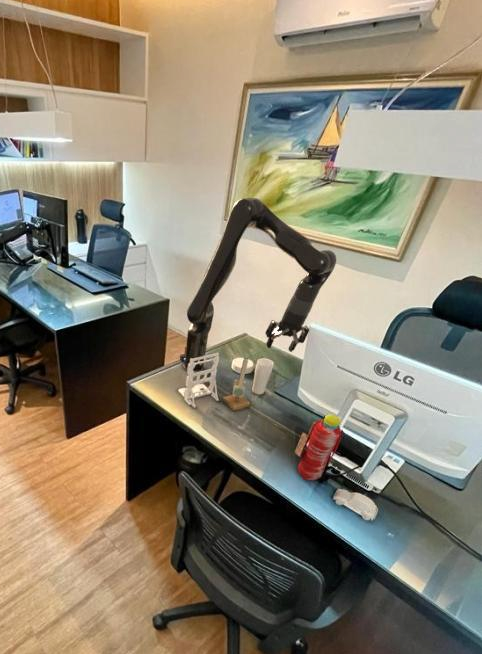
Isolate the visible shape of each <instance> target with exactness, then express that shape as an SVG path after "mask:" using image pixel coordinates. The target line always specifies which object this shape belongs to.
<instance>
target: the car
mask: <svg viewBox="0 0 482 654" xmlns="http://www.w3.org/2000/svg"><path fill="white" fill-rule="evenodd" d="M332 500H335V504H336V505H338V506H345V507H346V508H348V509H350V510H351V511H353V512H355V513H356V514H358V515H360V516H361V517H362V519H363V520H364V521H373V520H375V519H376V516H377V514H378V512H379V508H378V507H377V505H376V504H375V502H374V501H373V500H372V499H371V498H370V497H368V496H366V495H364V494H362V493H360V492H350V491H348V490H346V489H343V488H338V489H337V490H336V492H335V494H334V495H333V499H332Z"/></svg>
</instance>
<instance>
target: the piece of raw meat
mask: <svg viewBox="0 0 482 654" xmlns="http://www.w3.org/2000/svg"><path fill="white" fill-rule="evenodd" d="M339 417H340V416H337V415H336V416H335V415H332V414H328V415H326V416H325V418H324V417H323V419H320V420H316V421H313V423H312V424H311V427H310V429H309V431H308V433H305V432H302V434H301V435H300V438H299V441H298V443H297V445H296V446H295V447H296V448H295V450H294V454H296V456H298V457H300V460H299V462H298V463H299V464H298V467H297V468H298V469H297V470H298V473H299V476H300V477H302V479H304V480H305V481H309V482H314V481H316V480H318V479H320V478H321V477H322V475H323V473H324V471H325V468H326V466H327V463H328V464H331V462H332V460H333V457H334V455H335V454H336V451H337V450H338V447H339V445H340V442H341V440H342V429H340V427H341V426H340V425H341V420H340V418H341V417H340V418H339ZM301 457H302V458H301Z"/></svg>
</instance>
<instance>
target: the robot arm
mask: <svg viewBox="0 0 482 654" xmlns="http://www.w3.org/2000/svg"><path fill="white" fill-rule="evenodd" d="M248 228H255V229H257V230H260V231H262V232H263V233H265V234H266V235H267V236H268V237H269V238H270V240H272V242H273V243H274V244H275V246H276V247H277V248H278V249H279V250H281V252H283V253H285V254H286V255H288V256H289V257H290V258H292V259H293V260H295V262H296V263H297V265H298V266H300V268H301V269H303V270H304V271H305V272H306V273H307V274H306V275H305V277H304V278H302V279H301V280H300V281H299V283H298V285H297V287H296V289H295V290H294V293H293V295H292V297H291V298H290V300H289V302H288V304H287V307H286V309H285V310H284V313H283V315H282V317H281V319H280V321H276V320H275V319H272V320H271V321H270V322H269V325H268V327H267V328H266V331H265V335H266V338H267V341H266V344H265V345H266V347H267V349H271V347H272V345H273V343H274V340H275V339H276V338H279V337H281V336H283V337H289V338H291V337H292V340H291V342H290V344H289V347H287V348H288V351H289V352H291V353H292V352H293V351H295V349H296V347H297V346H298V344H303V343H305V341H306V339H307V337H308V334H309V332H310V328H309V326H308V325H304V324H305V322H306V320H307V318H308V316H309V314H310V313H311V311H312V308H313V306H314V302H315V301H316V299H317V297H318V294H319V293H320V290H321V289H322V287H323V286H324V285H325V283H326V282H327V280H328V279H329V278H330V276H331V274H332V273H333V271H334V269H335V268H336V265H337V255H336V254H335V252H334V251H332V250H330V249H324V250H319V249H317V248H315V246H313V243H312V240H310V238H308V237H307V236H305V235H303V234H302V233H301V232H299V231H297V230H296V229H294V228H293V227H291V225H289V224H287V223H286V222H285V221H283V220H282V219H280V217H278V216H277V215H276V214H275V213H274V212H273V211H272V210H271V209H270V208H269V207H268V206H267V205H266V204H265V203H264V202H263V201H262V200H261V199H259V198H257V197H244V198H239V199H238V200H237V201H236V202H234V204H233V206H232V207H231V209H230V212H229V214H228V217H227V220H226V224H225V226H224V229H223V232H222V235H221V237H220V240H219V241H218V244H217V246H216V247H215V251H214V253H213V255H212V257H211V259H210V261H209V263H208V266H207V268H206V270H205V273H204V276H203V277H202V280H201V283H200V285H199V287H198V290H197V291H196V293H195V295H194V297H193V299H192V300H191V302H190V304H189V305H188V307H187V310H186V316H187V320H188V321H189V322H190V325H189V326H188V329H187V333H186V334H187V336H186V344H185V345H186V346H185V347H184V353H182V354H180V356H179V361H180V362H182V364H183V368H184V370H185V371H187V369H188V364H189V363H190V358H191V359H194V358H198V357H202V356H206V353H207V345H208V340H209V339H208V338H209V333H210V332H211V329H212V324H213V319H214V313H215V308H214V304H213V300H214V298H215V297H216V296H217V295H218V293H219V292H220V291H221V290H222V288H223V287H224V286H225V284H226V283H227V282H228V280H229V278H230V276H231V274H232V273H233V270H234V268H235V266H236V263H237V253H238V246H239V243H240V241H241V239H242V237H243V235H244V233H245V231H246V230H247V229H248ZM299 332H301V333H300V334H299V337H298V333H299ZM198 361H199V360H196V361H194V363H197V362H198ZM201 361H204V359H201V360H200V361H199V362H201ZM205 363H206V362H204V363H200V364H196V365H195V367H194V369H193V371H194V373H197V372H201V371H204V367H205V366H204V365H205Z"/></svg>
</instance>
